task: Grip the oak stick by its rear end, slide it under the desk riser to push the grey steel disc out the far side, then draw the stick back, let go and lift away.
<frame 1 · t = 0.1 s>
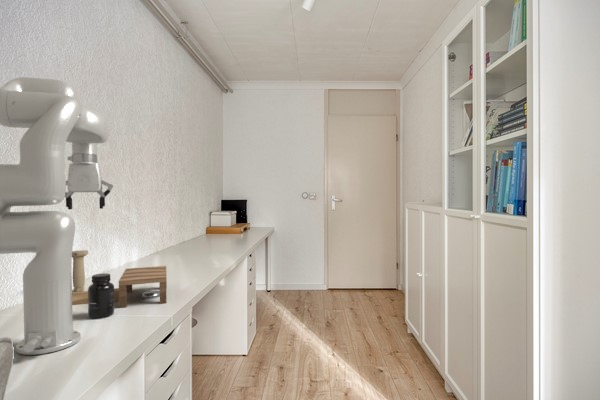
hand: (86, 208, 129), 31 cm above the table, fingers open, 9 cm apart
oak stick: (85, 303, 122), on the table
steel disc: (151, 297, 129), on the table
supplement bottle: (101, 316, 109), on the table
desk riser: (145, 296, 128), on the table
beige pillar figurine: (79, 291, 138), on the table
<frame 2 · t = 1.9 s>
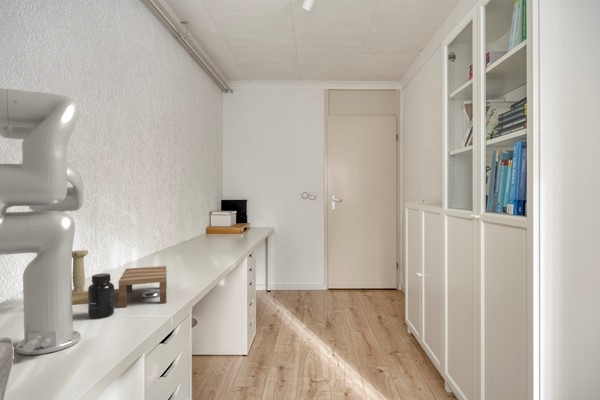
hand: (52, 278, 120), 9 cm above the table, fingers open, 9 cm apart
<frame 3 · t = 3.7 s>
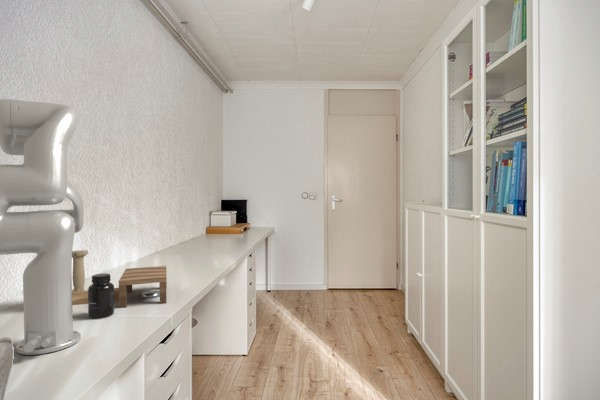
hand: (53, 304, 119), 0 cm above the table, fingers closed on oak stick, 2 cm apart
oak stick: (85, 303, 122), on the table, touching gripper
everything else where it was.
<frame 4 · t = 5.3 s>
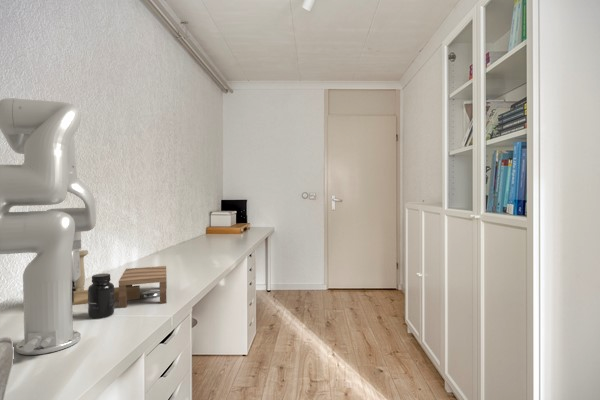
hand: (69, 301, 121), 1 cm above the table, fingers closed on oak stick, 2 cm apart
oak stick: (99, 301, 124), on the table, touching gripper
everything else where it was.
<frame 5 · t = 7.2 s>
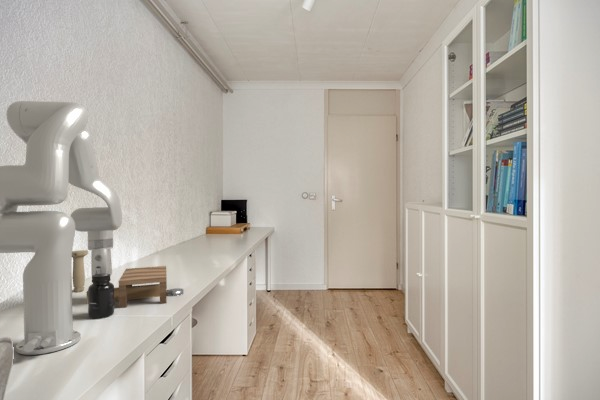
hand: (101, 298, 124), 1 cm above the table, fingers closed on oak stick, 2 cm apart
oak stick: (127, 299, 127), on the table, touching gripper
steel disc: (174, 294, 132), on the table
everything else where it was.
when the fingers open (1 cm above the table, at t = 9.4 s): oak stick stays where it is, on the table.
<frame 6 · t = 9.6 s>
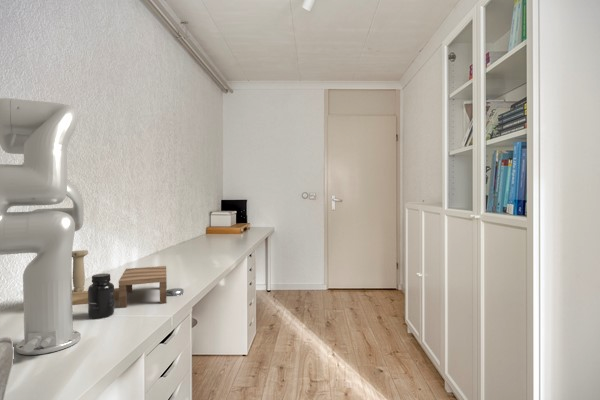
hand: (53, 302, 119), 1 cm above the table, fingers open, 4 cm apart
oak stick: (84, 303, 122), on the table
everything else where it was.
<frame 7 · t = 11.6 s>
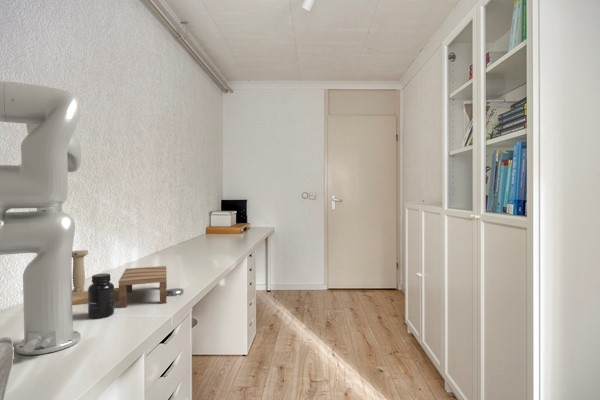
hand: (49, 242, 118), 21 cm above the table, fingers open, 9 cm apart
nothing on the table moved.
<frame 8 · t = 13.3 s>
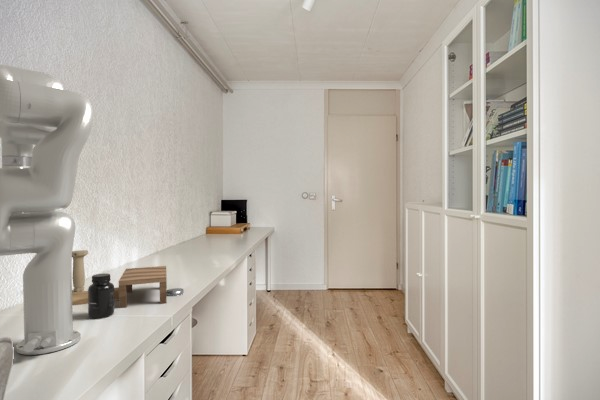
hand: (19, 220, 110), 28 cm above the table, fingers open, 9 cm apart
nothing on the table moved.
at the end: steel disc inside the target area (4.0 cm from its centre), on the table; steel disc tilted 0°; steel disc moved 7.8 cm from its start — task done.
